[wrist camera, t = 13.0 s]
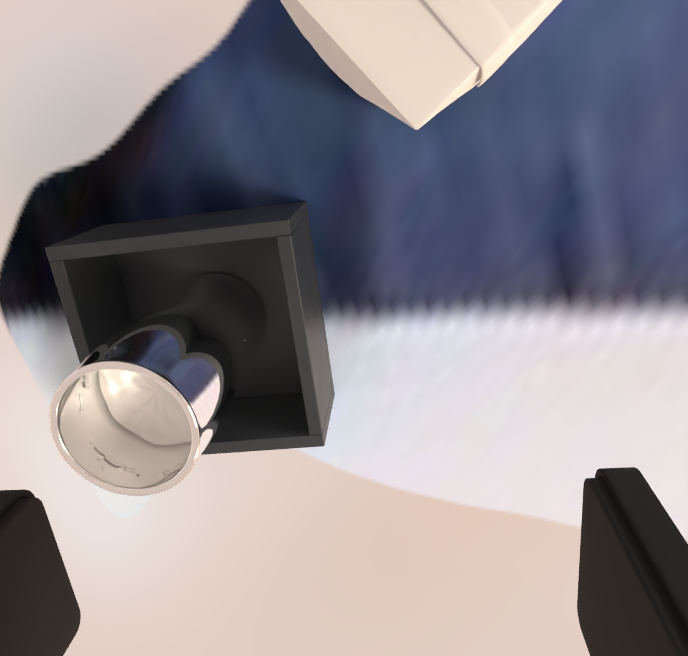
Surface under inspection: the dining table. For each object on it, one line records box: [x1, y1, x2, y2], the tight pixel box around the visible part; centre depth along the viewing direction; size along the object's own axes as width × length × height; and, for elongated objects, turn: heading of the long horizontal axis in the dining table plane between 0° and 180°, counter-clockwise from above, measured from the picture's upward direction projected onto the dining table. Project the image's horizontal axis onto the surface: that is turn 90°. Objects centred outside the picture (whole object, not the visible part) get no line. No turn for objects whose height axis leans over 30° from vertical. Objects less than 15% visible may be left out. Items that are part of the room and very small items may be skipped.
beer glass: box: [49, 273, 264, 496], centre depth 32 cm, size 7×7×15 cm
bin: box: [45, 201, 334, 455], centre depth 36 cm, size 14×14×7 cm
